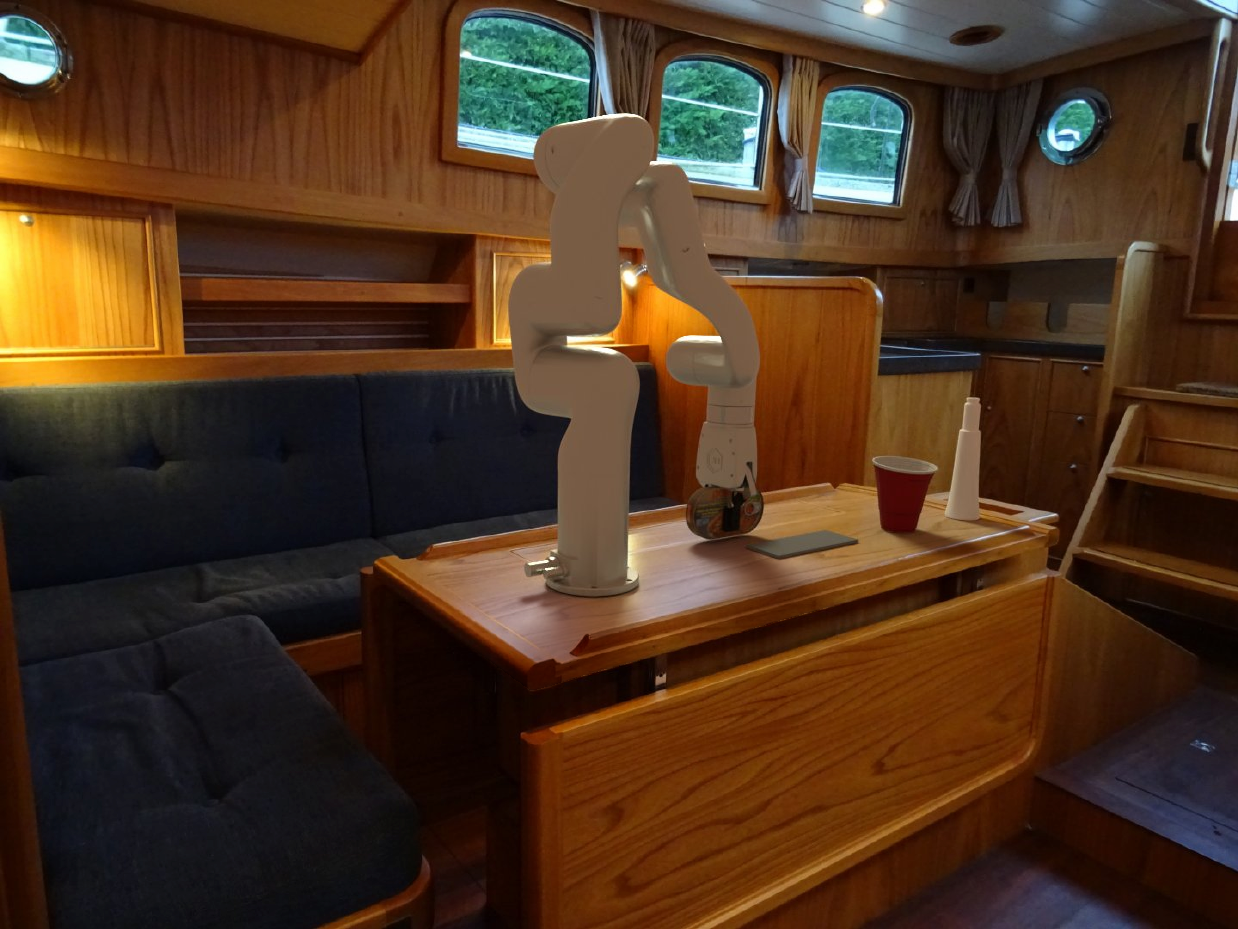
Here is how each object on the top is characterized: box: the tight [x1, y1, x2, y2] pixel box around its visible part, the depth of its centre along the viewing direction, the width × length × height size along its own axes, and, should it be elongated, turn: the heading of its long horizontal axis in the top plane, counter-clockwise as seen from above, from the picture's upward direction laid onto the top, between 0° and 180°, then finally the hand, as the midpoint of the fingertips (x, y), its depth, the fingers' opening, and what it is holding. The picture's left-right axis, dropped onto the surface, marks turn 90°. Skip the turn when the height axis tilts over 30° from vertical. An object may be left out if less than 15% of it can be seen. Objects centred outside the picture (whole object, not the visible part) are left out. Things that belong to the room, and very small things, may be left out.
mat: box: [745, 529, 859, 560], centre depth 136 cm, size 18×7×1 cm, turn 124°
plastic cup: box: [871, 455, 939, 534], centre depth 146 cm, size 11×11×12 cm
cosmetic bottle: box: [944, 396, 982, 522], centre depth 155 cm, size 6×6×22 cm
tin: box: [685, 485, 765, 541], centre depth 138 cm, size 15×3×8 cm, turn 124°
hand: (724, 527), depth 139 cm, fingers closed on tin, 2 cm apart
